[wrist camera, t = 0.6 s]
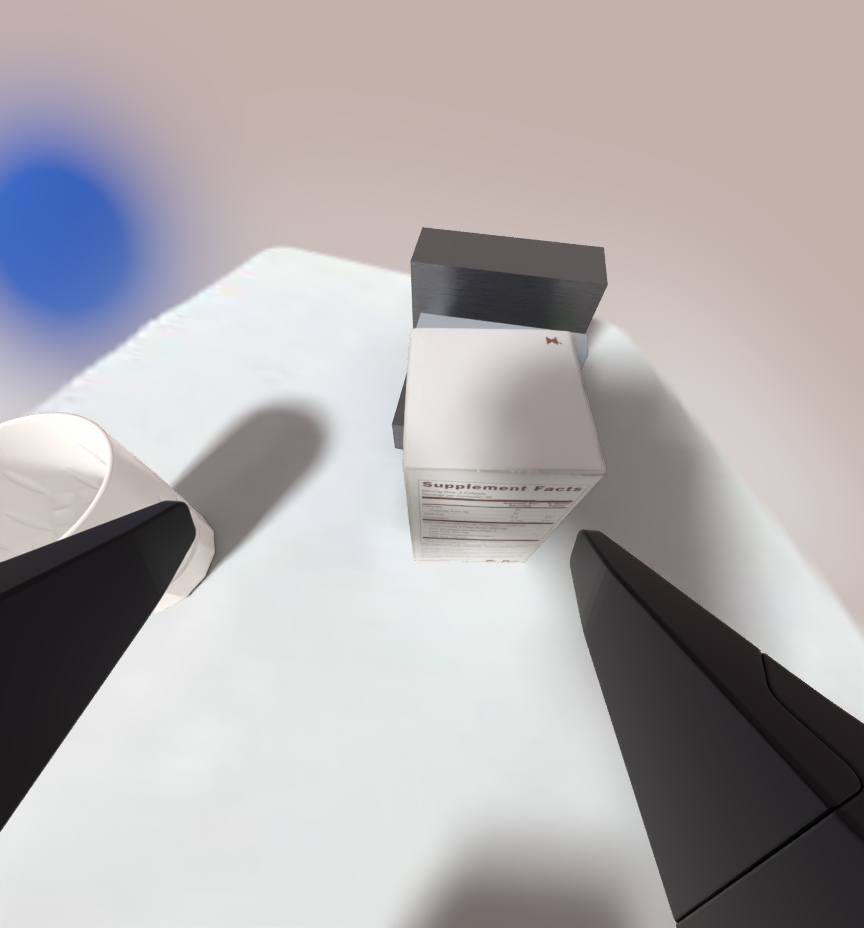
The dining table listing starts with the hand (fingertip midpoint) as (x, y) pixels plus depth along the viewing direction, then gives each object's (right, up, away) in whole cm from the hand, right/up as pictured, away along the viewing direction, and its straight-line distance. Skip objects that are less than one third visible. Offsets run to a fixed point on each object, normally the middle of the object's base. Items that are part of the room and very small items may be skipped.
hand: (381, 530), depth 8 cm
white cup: (-16, -5, +15) cm, 22 cm away
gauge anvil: (+5, +7, +22) cm, 23 cm away
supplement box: (+4, -2, +17) cm, 17 cm away
